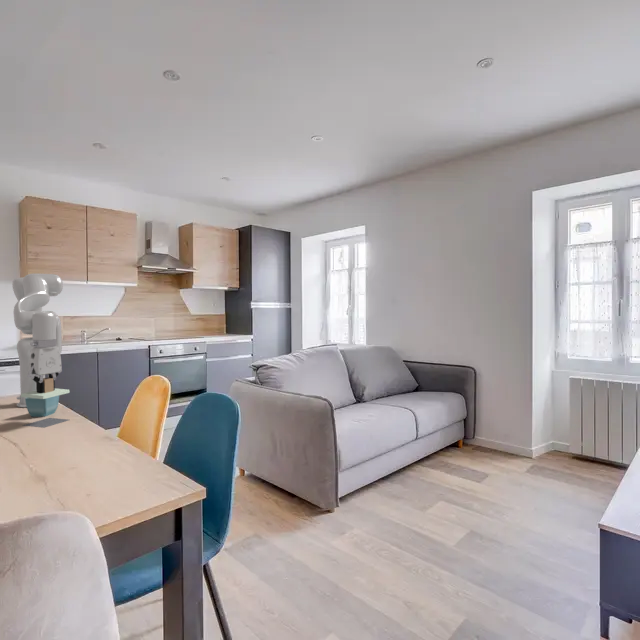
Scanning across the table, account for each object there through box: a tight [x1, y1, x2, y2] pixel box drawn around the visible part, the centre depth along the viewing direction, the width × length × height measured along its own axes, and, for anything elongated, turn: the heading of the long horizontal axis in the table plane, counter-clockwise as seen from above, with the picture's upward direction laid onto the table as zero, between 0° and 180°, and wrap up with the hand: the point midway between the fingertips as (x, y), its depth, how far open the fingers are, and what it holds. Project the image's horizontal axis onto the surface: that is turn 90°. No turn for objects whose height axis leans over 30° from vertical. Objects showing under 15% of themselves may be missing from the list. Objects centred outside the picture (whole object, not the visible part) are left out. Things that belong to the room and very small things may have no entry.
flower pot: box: [25, 395, 60, 418], centre depth 167 cm, size 9×9×9 cm
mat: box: [22, 417, 69, 429], centre depth 156 cm, size 11×11×1 cm
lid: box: [20, 377, 70, 399], centre depth 156 cm, size 11×11×6 cm
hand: (45, 390), depth 156 cm, fingers closed on lid, 3 cm apart
